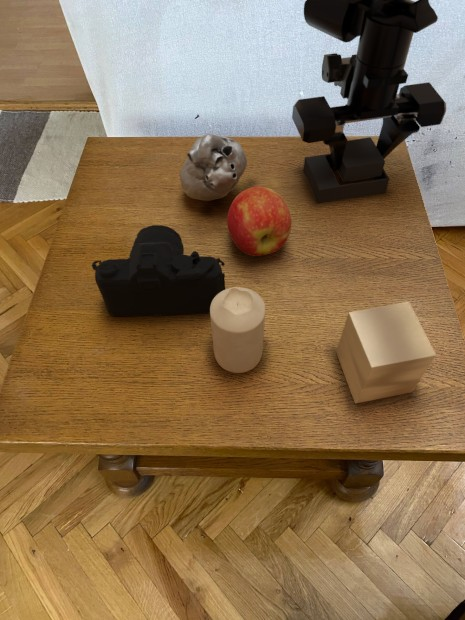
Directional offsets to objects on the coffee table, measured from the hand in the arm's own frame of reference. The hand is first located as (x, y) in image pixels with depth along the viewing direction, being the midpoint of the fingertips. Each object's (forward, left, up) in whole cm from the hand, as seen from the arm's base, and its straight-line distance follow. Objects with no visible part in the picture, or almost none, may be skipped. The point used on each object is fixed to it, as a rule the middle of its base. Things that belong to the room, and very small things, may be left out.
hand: (355, 165), depth 69 cm
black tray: (+1, 0, -3) cm, 3 cm away
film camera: (+29, +14, -3) cm, 33 cm away
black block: (0, 0, 0) cm, 0 cm away
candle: (+22, +25, -3) cm, 34 cm away
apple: (+16, +9, -3) cm, 19 cm away
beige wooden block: (+8, +30, -3) cm, 32 cm away
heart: (+20, -1, -3) cm, 21 cm away
